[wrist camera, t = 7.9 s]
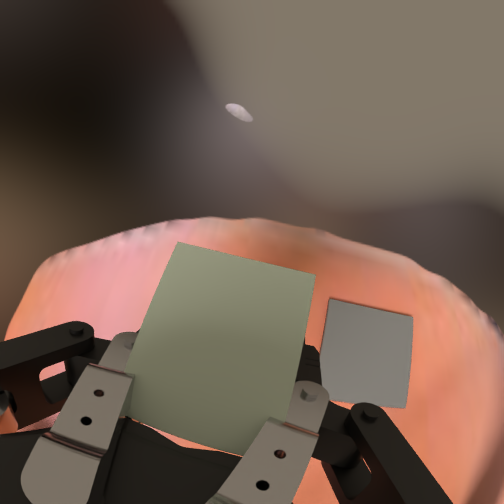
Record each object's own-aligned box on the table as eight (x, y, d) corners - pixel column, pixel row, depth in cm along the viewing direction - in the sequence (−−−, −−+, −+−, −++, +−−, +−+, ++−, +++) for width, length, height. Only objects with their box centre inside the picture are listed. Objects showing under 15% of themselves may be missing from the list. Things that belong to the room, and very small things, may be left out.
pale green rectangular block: (276, 354, 16) (316, 274, 8) (255, 434, 14) (274, 462, 5) (210, 337, 17) (177, 241, 8) (185, 415, 14) (111, 408, 6)
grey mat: (411, 318, 33) (413, 317, 33) (403, 408, 27) (405, 407, 27) (328, 300, 35) (329, 298, 34) (310, 396, 28) (311, 396, 28)
